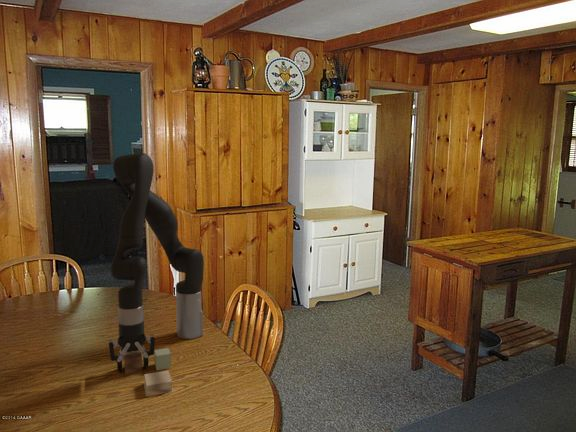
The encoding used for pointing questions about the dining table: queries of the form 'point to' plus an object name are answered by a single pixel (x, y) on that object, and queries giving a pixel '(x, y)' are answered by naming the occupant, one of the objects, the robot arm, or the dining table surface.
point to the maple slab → (158, 382)
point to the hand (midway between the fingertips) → (133, 369)
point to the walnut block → (133, 362)
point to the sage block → (162, 359)
